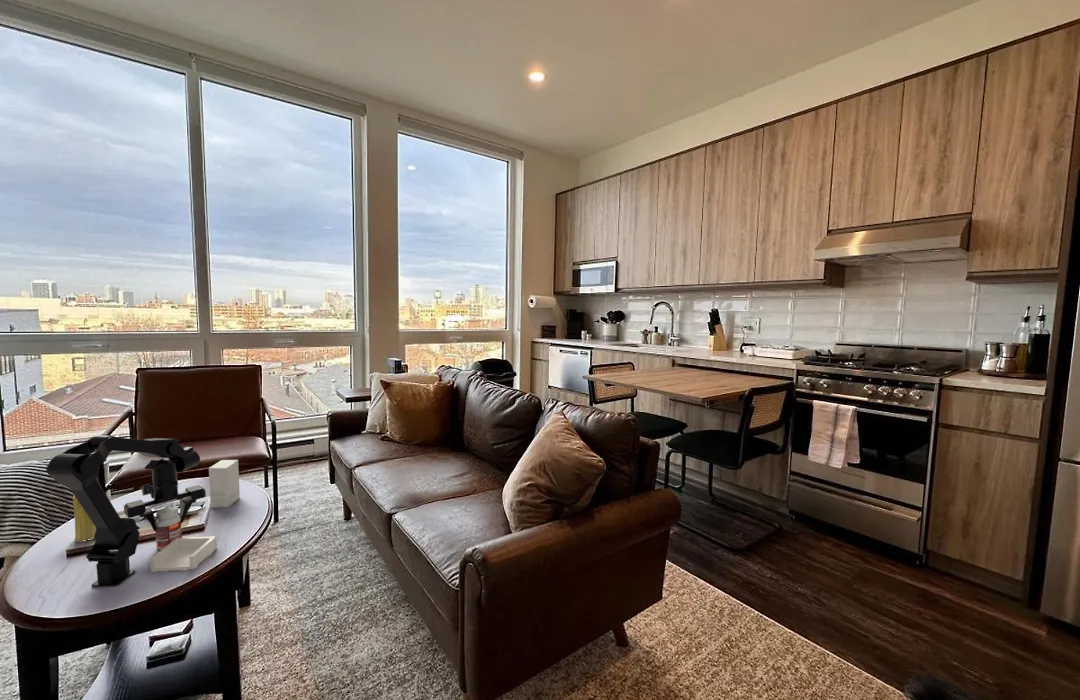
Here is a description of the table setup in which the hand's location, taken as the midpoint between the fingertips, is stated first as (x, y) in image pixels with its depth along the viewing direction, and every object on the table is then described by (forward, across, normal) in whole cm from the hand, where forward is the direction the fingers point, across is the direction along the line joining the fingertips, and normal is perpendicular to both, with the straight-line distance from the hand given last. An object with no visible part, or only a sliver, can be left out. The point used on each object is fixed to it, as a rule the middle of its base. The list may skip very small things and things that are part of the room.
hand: (168, 526), depth 137 cm
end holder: (+6, -1, +13) cm, 15 cm away
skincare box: (+6, -21, -20) cm, 30 cm away
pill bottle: (+6, 0, 0) cm, 6 cm away
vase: (+6, +15, -25) cm, 30 cm away
